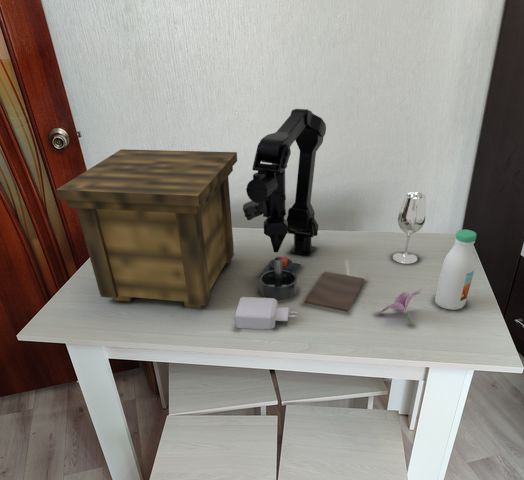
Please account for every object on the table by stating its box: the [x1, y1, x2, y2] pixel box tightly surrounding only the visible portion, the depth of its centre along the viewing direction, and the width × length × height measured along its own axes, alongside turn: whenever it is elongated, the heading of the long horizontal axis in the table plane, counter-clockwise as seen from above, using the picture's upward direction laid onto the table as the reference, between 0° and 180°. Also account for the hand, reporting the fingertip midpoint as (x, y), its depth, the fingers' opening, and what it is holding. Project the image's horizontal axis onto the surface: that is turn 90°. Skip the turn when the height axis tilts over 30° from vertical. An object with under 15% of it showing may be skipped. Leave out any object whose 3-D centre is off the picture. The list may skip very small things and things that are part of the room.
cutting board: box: [303, 271, 366, 313], centre depth 132 cm, size 18×12×1 cm, turn 156°
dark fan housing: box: [259, 270, 298, 301], centre depth 132 cm, size 10×10×4 cm
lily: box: [377, 288, 422, 326], centre depth 119 cm, size 12×12×10 cm
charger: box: [234, 296, 298, 330], centre depth 120 cm, size 5×9×15 cm
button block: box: [260, 258, 301, 276], centre depth 142 cm, size 10×9×3 cm
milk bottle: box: [434, 229, 477, 311], centre depth 120 cm, size 8×8×20 cm
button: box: [277, 255, 289, 267], centre depth 141 cm, size 4×4×2 cm
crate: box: [55, 148, 238, 309], centre depth 130 cm, size 35×35×33 cm
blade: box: [269, 256, 287, 287], centre depth 130 cm, size 7×7×10 cm
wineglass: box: [392, 191, 427, 265], centre depth 141 cm, size 8×8×20 cm
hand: (275, 244), depth 133 cm, fingers open, 9 cm apart
